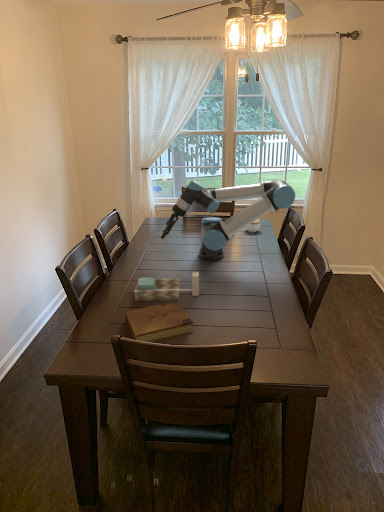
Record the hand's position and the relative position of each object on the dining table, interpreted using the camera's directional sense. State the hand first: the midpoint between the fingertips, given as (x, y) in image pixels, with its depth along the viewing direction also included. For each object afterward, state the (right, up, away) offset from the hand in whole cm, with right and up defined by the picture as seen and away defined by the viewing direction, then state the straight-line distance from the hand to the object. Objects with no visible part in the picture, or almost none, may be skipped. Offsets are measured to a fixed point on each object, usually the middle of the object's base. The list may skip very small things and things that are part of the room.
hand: (160, 238), depth 204 cm
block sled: (+7, -27, -25) cm, 38 cm away
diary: (+4, -39, -50) cm, 64 cm away
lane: (+1, -28, -25) cm, 37 cm away
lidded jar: (+60, +8, +60) cm, 85 cm away
